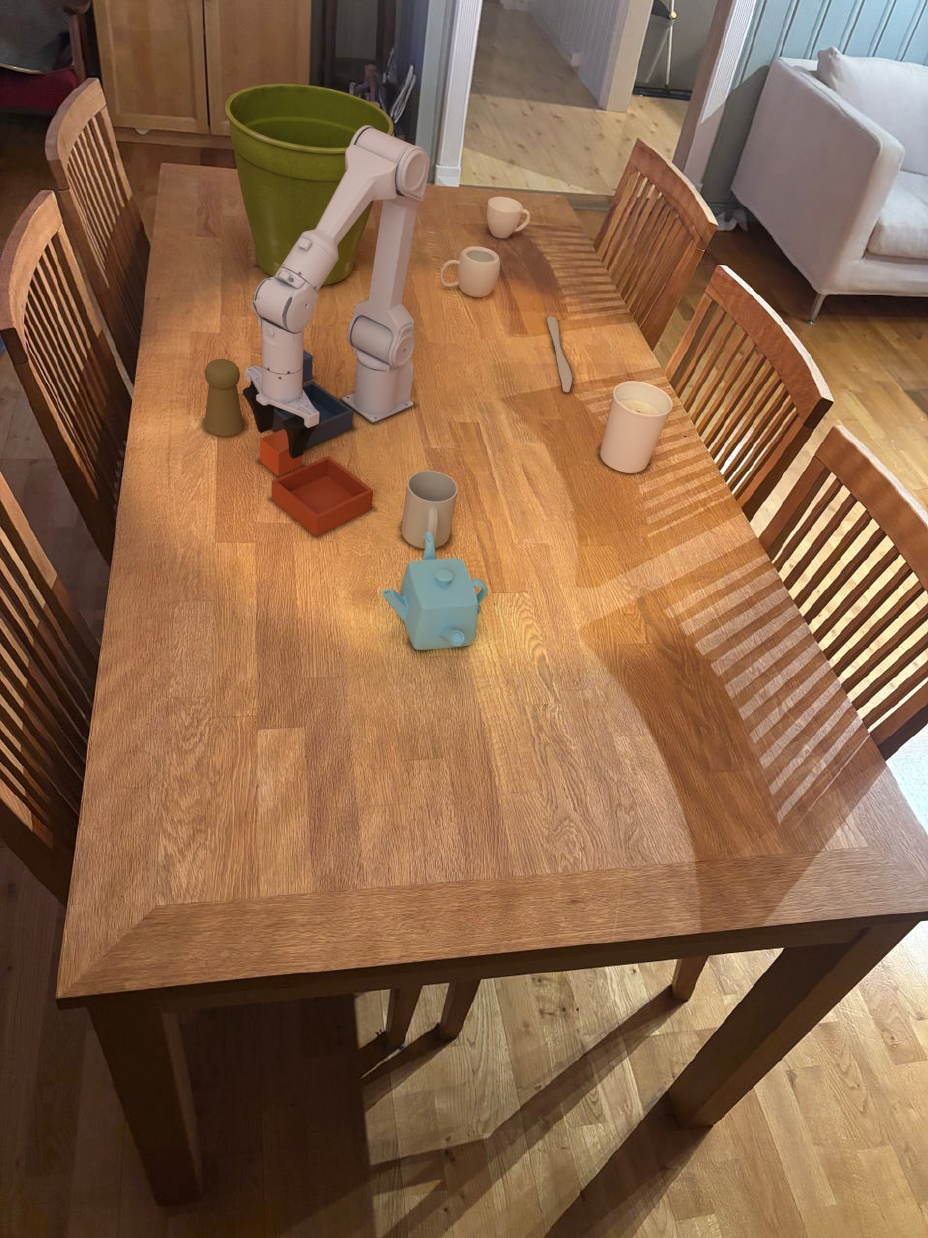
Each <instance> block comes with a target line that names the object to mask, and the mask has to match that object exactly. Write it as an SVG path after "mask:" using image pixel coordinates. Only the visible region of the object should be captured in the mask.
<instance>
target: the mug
mask: <svg viewBox="0 0 928 1238" xmlns="http://www.w3.org/2000/svg"><path fill="white" fill-rule="evenodd" d="M458 256H459V257H458V259H457V260H455V259H450V260H447V261H446V262H445V263H444V264H443V265H442V267H441V268H440V271H439V281H440V283H441V284H442V286H444V287H447V288H453V287H455V286H458V288H459V289H460V291H461V292H462V293H463V294H464V295H466V296H469V297H472V298H484V297H487V296H488V295H489V294H490V293H491V292H493V290H494V288H495V286H496V285H497V282H498V279H499V276H500V275H499V274H500V271H501V270H500V269H501V260H500V256H499V254H498V253H497V252H495V251H494V250H493V249H490V248H487V247H485V246H478V245H477V246H476V245H475V246H474V245H473V246H468V247H465V248H463V249H462V251H461V252H460V253H459V255H458ZM453 264H454V265H456V280H457V281H454V282H450V283H449V282H446V280H445V279H444V273H445V270H446V268H447V267H448V266H449V265H453Z"/></svg>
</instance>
